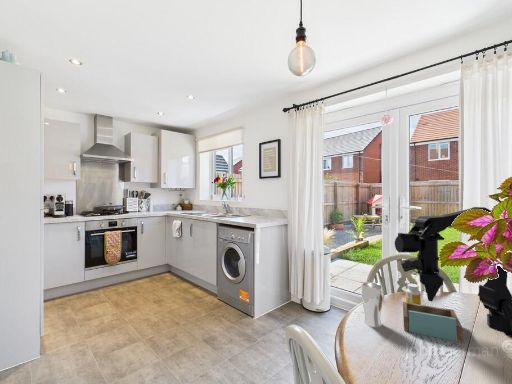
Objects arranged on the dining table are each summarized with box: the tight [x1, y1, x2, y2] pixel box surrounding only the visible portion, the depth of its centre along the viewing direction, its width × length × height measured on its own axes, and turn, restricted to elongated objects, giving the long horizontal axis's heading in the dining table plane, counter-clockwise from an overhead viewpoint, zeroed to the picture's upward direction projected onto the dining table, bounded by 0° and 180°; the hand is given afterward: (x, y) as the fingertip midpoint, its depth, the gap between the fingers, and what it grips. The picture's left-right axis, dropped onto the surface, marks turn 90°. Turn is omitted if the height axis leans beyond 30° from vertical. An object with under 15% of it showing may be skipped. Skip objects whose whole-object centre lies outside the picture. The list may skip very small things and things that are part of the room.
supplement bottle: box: [405, 283, 422, 305], centre depth 108 cm, size 5×5×10 cm
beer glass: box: [361, 281, 384, 329], centre depth 94 cm, size 7×7×15 cm
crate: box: [402, 301, 464, 343], centre depth 90 cm, size 16×13×6 cm
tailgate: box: [408, 310, 458, 342], centre depth 85 cm, size 13×1×7 cm, turn 61°
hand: (428, 296), depth 89 cm, fingers open, 8 cm apart
